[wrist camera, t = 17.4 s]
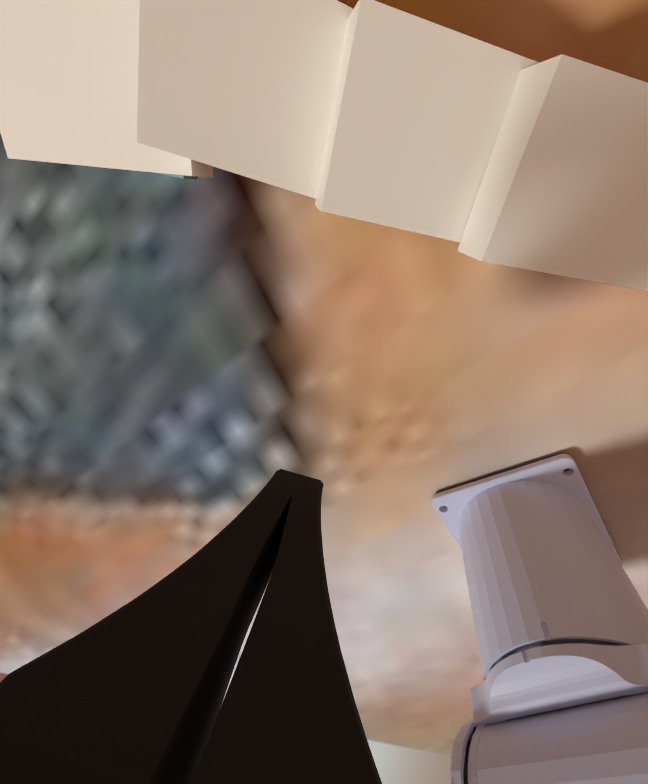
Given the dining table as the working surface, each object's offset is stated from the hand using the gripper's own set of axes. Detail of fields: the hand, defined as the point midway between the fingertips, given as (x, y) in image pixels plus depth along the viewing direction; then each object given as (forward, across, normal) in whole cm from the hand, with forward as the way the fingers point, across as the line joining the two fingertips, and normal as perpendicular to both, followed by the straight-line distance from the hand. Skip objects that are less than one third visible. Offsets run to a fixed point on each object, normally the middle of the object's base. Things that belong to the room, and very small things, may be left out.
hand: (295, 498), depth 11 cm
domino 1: (+8, +8, -10) cm, 15 cm away
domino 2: (+9, +1, -10) cm, 13 cm away
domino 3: (+9, -6, -10) cm, 14 cm away
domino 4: (+9, -11, -10) cm, 17 cm away
